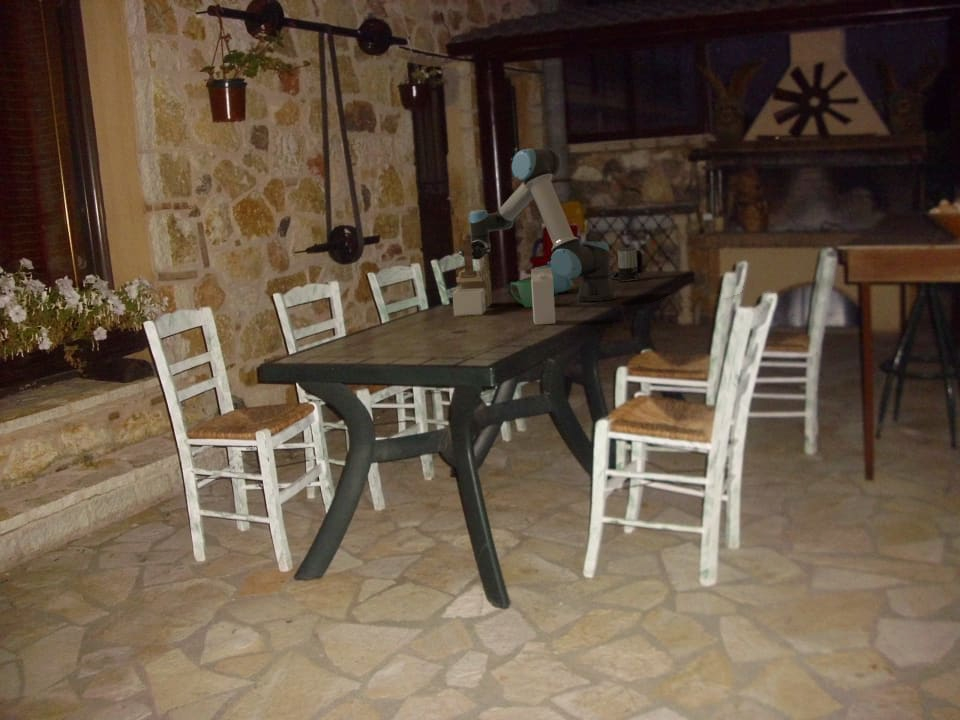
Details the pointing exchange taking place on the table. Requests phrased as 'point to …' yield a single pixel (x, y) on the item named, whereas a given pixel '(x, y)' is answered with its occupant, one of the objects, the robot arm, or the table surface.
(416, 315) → the table surface
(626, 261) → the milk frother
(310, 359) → the table surface
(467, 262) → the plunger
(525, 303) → the mug
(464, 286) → the launcher
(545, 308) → the milk carton
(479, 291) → the beige cardboard cube
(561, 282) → the decorative pot
